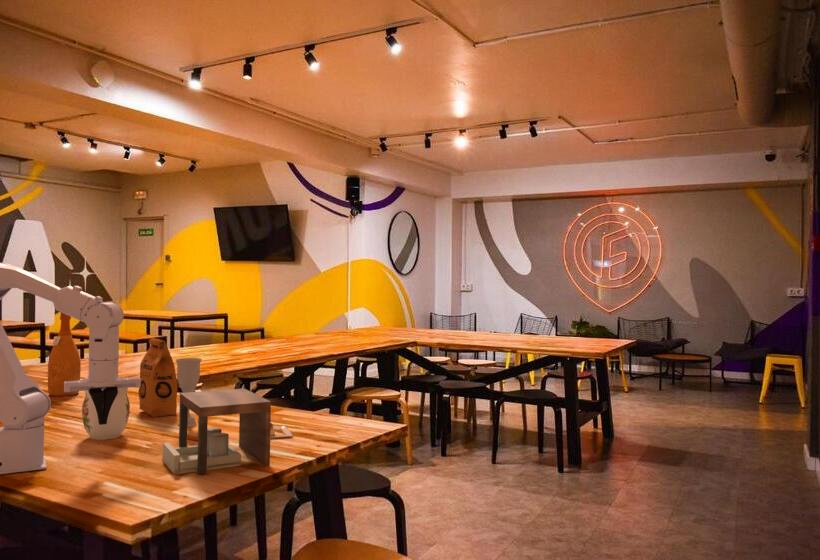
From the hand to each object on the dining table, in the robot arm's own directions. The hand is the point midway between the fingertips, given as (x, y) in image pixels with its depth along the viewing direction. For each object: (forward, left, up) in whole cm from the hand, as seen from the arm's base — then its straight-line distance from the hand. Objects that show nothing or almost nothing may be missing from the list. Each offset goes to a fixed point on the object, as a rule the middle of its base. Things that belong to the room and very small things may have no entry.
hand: (102, 423), depth 137 cm
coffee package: (+21, +53, -10) cm, 58 cm away
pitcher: (+4, +30, -10) cm, 32 cm away
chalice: (+25, +33, -10) cm, 42 cm away
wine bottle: (-1, +99, -10) cm, 99 cm away
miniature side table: (+24, -6, -9) cm, 26 cm away
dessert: (+41, +13, -10) cm, 44 cm away
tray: (+19, -5, -10) cm, 22 cm away
